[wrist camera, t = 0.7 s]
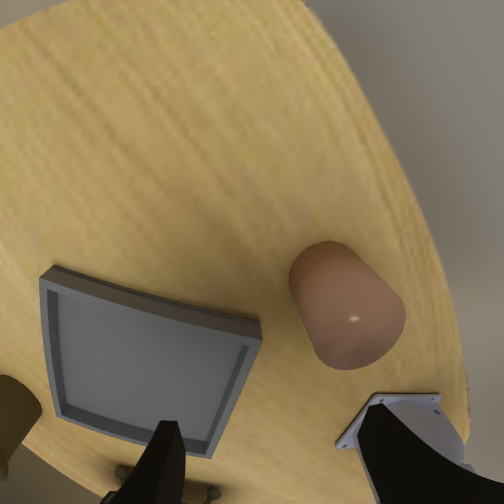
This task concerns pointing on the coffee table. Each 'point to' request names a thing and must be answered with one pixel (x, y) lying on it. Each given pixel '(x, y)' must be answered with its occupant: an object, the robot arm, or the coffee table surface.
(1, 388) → the brown pawn figure
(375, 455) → the robot arm
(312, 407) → the coffee table surface
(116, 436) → the tray
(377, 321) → the brown clay cylinder
